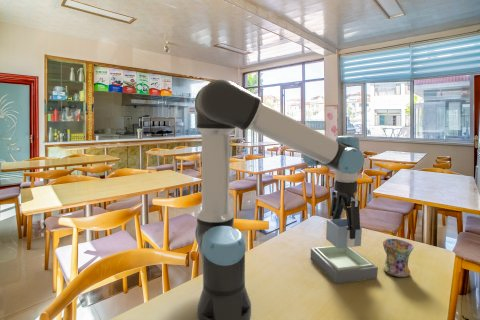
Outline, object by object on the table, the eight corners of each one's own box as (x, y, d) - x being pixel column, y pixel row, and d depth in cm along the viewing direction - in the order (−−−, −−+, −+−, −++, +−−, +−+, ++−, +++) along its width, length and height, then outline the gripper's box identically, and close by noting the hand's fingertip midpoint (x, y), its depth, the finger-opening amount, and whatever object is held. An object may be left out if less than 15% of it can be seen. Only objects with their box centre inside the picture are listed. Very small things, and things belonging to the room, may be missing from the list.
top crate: (337, 279, 98) (337, 269, 97) (314, 256, 113) (315, 247, 113) (371, 274, 100) (372, 264, 100) (345, 253, 116) (345, 244, 115)
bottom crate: (335, 284, 96) (336, 272, 96) (310, 257, 114) (310, 248, 114) (377, 278, 100) (377, 267, 99) (346, 253, 117) (346, 244, 117)
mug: (417, 277, 100) (420, 248, 98) (393, 280, 98) (396, 251, 96) (393, 261, 111) (395, 234, 110) (371, 263, 110) (373, 236, 108)
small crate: (337, 248, 101) (338, 227, 100) (326, 239, 108) (326, 219, 107) (360, 245, 103) (361, 225, 101) (347, 236, 110) (348, 217, 109)
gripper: (375, 186, 93) (371, 253, 96) (339, 173, 113) (337, 229, 116) (354, 187, 91) (350, 255, 95) (321, 174, 111) (319, 231, 115)
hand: (343, 241), depth 105 cm, fingers closed on small crate, 8 cm apart
